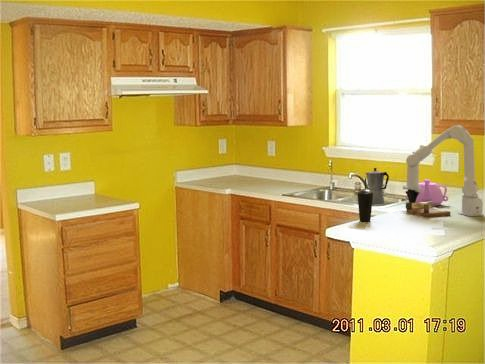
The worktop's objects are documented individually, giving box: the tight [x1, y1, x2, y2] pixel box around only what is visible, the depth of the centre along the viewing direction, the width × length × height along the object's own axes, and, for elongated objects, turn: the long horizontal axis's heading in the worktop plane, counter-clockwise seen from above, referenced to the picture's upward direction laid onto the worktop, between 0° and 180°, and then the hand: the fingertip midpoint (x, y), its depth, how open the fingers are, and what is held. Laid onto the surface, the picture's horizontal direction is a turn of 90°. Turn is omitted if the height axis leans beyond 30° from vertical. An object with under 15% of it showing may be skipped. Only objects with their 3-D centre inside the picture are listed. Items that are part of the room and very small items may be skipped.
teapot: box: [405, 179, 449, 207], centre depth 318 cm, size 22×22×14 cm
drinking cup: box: [356, 177, 374, 223], centre depth 274 cm, size 8×8×20 cm
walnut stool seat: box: [406, 204, 451, 218], centre depth 292 cm, size 16×14×6 cm
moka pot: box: [365, 167, 390, 206], centre depth 324 cm, size 10×15×20 cm, turn 45°
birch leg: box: [405, 201, 434, 210], centre depth 298 cm, size 15×3×3 cm, turn 107°
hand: (412, 204), depth 303 cm, fingers closed
